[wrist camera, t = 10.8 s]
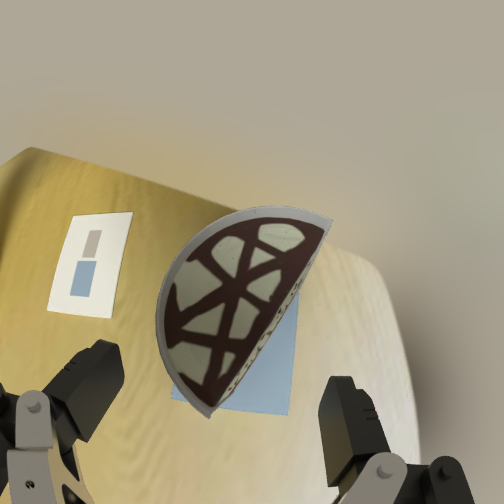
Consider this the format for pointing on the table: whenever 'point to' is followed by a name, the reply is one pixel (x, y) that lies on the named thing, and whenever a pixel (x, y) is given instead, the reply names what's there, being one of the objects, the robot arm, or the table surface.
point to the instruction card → (90, 265)
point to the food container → (232, 297)
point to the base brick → (267, 373)
